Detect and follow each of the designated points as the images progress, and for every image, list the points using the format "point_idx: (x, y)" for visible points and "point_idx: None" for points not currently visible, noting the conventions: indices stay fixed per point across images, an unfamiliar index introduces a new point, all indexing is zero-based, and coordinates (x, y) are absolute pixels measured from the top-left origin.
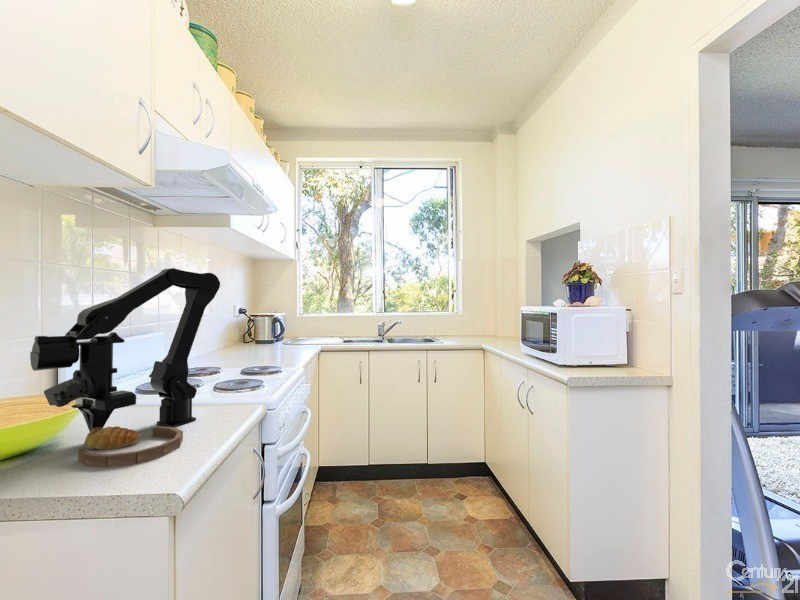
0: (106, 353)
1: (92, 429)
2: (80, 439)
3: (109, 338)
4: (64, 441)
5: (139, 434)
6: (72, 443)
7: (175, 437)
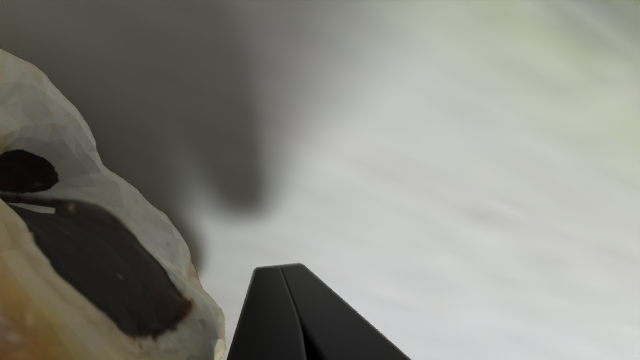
0: None
1: (24, 332)
2: (499, 202)
3: None
4: (614, 94)
5: None
6: (460, 97)
7: None
